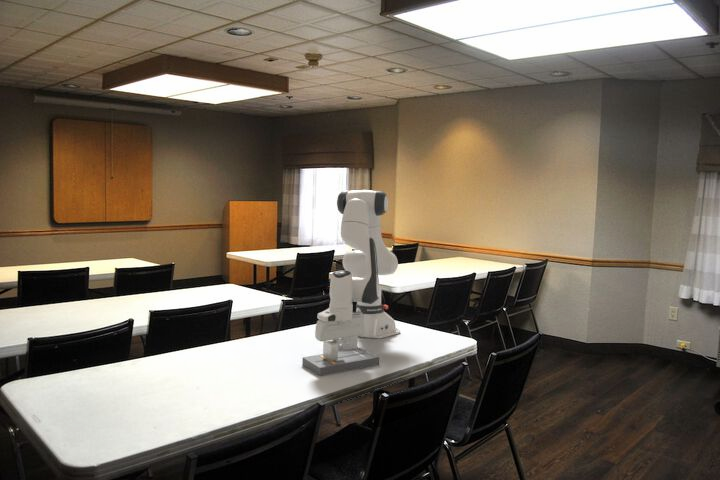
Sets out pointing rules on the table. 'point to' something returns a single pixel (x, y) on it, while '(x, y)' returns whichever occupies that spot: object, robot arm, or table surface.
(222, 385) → the table surface
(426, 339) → the table surface
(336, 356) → the fader
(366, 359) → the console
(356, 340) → the photo printer
